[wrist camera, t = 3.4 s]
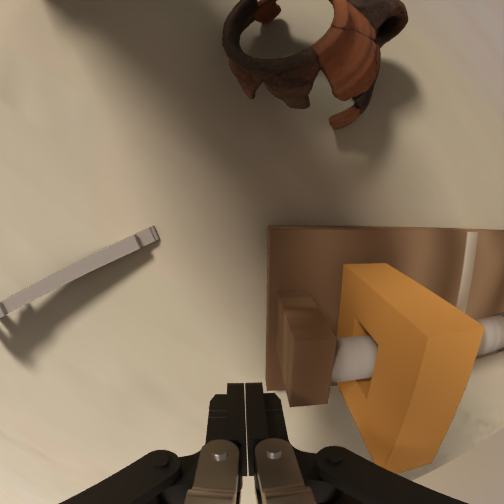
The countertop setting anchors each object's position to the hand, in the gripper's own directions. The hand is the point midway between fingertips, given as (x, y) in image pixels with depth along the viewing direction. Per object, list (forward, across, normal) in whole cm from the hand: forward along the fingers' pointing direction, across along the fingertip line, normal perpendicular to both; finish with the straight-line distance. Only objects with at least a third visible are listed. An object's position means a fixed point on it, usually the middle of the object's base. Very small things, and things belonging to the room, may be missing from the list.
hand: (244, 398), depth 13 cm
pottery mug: (+10, -5, -18) cm, 21 cm away
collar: (+7, -8, 0) cm, 11 cm away
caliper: (+10, +15, -2) cm, 18 cm away
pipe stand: (+10, -15, 0) cm, 18 cm away
